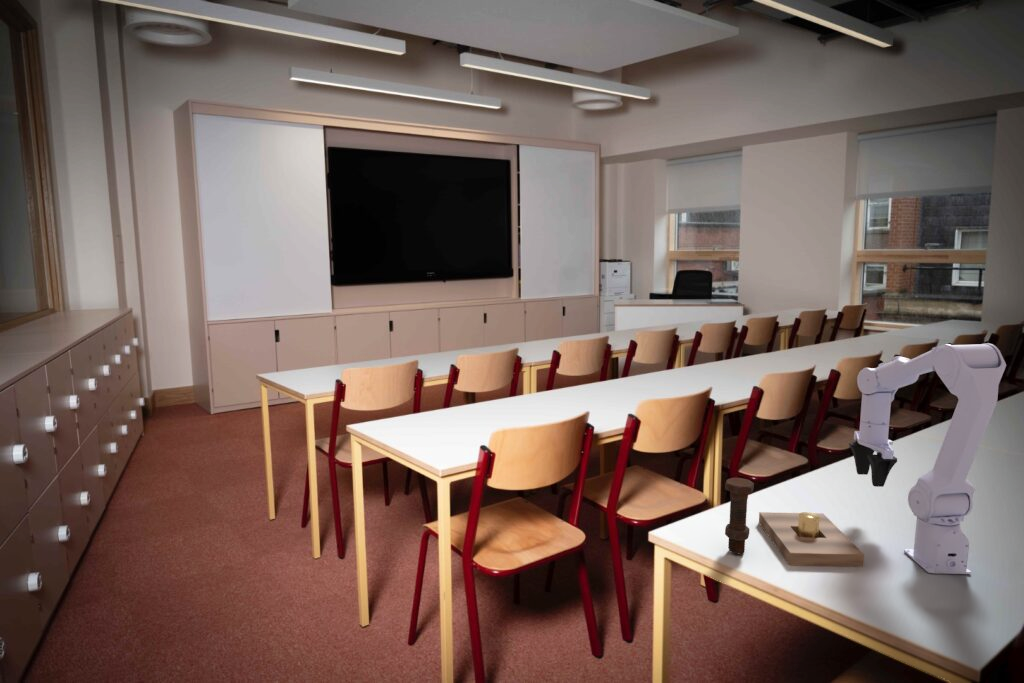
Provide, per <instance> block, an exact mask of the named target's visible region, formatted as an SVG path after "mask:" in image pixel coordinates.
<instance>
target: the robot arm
mask: <svg viewBox="0 0 1024 683" xmlns="http://www.w3.org/2000/svg"><path fill="white" fill-rule="evenodd" d="M1006 367H1007V364H1006V361H1005V359H1004V357H1003V355H1002V353H1001V350H1000V349H999V348H998V347H997V346H996V345H995V344H993V343H989V342H987V343H985V342H983V343H981V344H979V343H978V344H947V343H946V344H942V345H939V346H934V347H933V346H932V348H931V349H930V350H929V351H927V352H924V353H922V354H919V355H918V356H916V357H914V358H911V359H910V358H908V357H903V356H901V355H900V356H894V357H892V361H889V362H881V363H879V364H878V366H877V367H874V368H873V367H872V368H871V367H864V368H862V369H861V370H860V371H859V372H858V374H857V378H856V382H857V388H858V390H859V391H860V392H861V403H860V404H861V406H860V416H859V417H860V421H859V431H857V430H855V431H853V440H854V441H855V442H854V441H852V442H849V443H848V445H849V448H850V450H851V452H852V455H853V458H854V464H855V470H856V473H857V475H864V476H866V475H868V474H869V472H870V471H871V483H872V486H873V487H879V488H880V487H884V486H885V484H886V482H887V479H888V476H889V474H890V472H891V471H892V468H893V467H894V466H895V465H896V464H897V462H898V458H897V457H896V456H895V455H894V453H895V452H894V449H893V448H892V447H891V446H892V445H893V444H894V441H893V440H891V439H889V430H890V420H891V419H890V417H891V405H892V402H893V401H894V400H895V394H896V393H897V391H898V390H899V389H901V388H904V387H906V386H909V385H913V384H915V383H916V382H917V381H918V380H919V377H920V375H923V374H927V373H931V372H936V374H937V376H938V377H939V378H940V380H941V382H942V383H943V384H944V385H945V387H946V388H947V390H948V391H949V392H950V394H951V395H954V396H955V397H957V399H958V400H957V404H956V407H955V409H954V412H953V415H952V417H951V419H950V423H949V426H948V427H947V430H946V433H945V435H944V438H943V441H942V444H941V447H940V449H939V452H938V454H937V456H936V459H935V462H934V465H933V468H932V469H931V470H929V471H928V472H926V473H924V474H923V475H921V476H920V477H918V479H917V482H916V484H914V486H912V487H911V488H910V490H908V494H907V502H908V506H909V508H910V511H911V512H912V514H913V516H915V517H916V522H915V533H914V541H913V542H914V544H913V548H904V550H903V552H904V553H905V554H906V555H908V556H909V557H910V558H911V559H912V560H913V561H914V562H916V563H917V564H918V565H919V566H920V567H921V568H922V569H924V571H925V572H927V573H928V574H944V575H945V574H947V575H948V574H950V575H951V574H952V575H971V574H972V571H971V570H970V569H968V568H967V567H968V561H969V560H968V559H969V550H970V542H969V538H968V537H967V536H966V534H965V533H964V532H963V531H962V529H961V523H962V522H964V521H965V516H968V515H969V514H970V513H971V512H972V510H973V505H974V501H973V498H974V493H975V491H976V489H975V487H974V486H973V484H972V482H970V480H968V479H967V478H968V475H969V472H970V470H971V467H972V465H973V464H974V463H973V462H974V461H975V458H976V455H977V453H978V450H979V448H980V445H981V443H982V440H983V437H984V435H985V433H986V430H987V428H988V425H989V423H990V421H991V418H992V416H993V412H994V410H995V408H996V406H997V404H998V397H999V396H998V395H999V385H1000V382H1001V379H1002V377H1003V374H1004V372H1005V370H1006ZM874 453H876V454H874ZM870 469H871V470H870Z"/></svg>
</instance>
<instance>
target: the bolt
mask: <svg viewBox="0 0 1024 683" xmlns="http://www.w3.org/2000/svg"><path fill="white" fill-rule="evenodd" d="M754 487H755V483H754V482H753V481H751V480H750V479H746V478H742V477H731V478H728V479H726V481H725V485H724V489H725V490H726V491H727V492H729V494H730V495H729V497H730V503H729V504H730V506H729V522H728V523H727V524H726V526H725V531H724V535H725V536H726V537H727V538H728V545H727V546H728V550H729V552H730V551H731V552H730V553H731V554H732V555H734V556H738V555H739V556H741V554H742V555H744V554H745V548H746V547H745V546H746V540H748V539H749V537H750V527H748V526H747V512H748V509H747V508H748V499H749V494H750V495H751V494H753V491H754V490H755V488H754Z"/></svg>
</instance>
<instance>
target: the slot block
mask: <svg viewBox="0 0 1024 683" xmlns="http://www.w3.org/2000/svg"><path fill="white" fill-rule="evenodd" d="M758 513H759V514H758V524H759V523H760V524H761V525H760V524H759V525H760V527H761V528H762V527H763V528H764V529H763V528H762V529H763V531H764V530H765V531H766V532H765V531H764V532H765V533H766V534H768V535H769V536H768V535H767V536H768V537H769V539H770V538H771V539H770V540H771V542H772V543H773V542H774V543H773V544H774V545H776V546H775V547H776V548H777V549H779V550H778V551H779V552H780V554H781V555H782V557H783V558H784V559H785V561H786V562H787V564H788V565H789V566H812V567H813V566H815V567H816V566H817V567H820V566H821V567H858V568H859V567H864V561H865V553H864V552H862V551H861V550H860V549H859V548H858V547H857V546H856V545H855V544H854V543H853V542H852V541H851V540H850V539H849V538H848V537H847V536H846V535H845V534H844V532H842V531H841V529H839V528H838V526H837V525H835V524H834V523H833V522H832V521H831V520H830V518H828V516H826V515H825V513H822V512H821V513H818V512H817V513H816V512H815V513H814V512H812V513H813V514H816V515H818V516H819V517H820V523H819V537H818V538H807V537H799V536H798V522H799V514H800V513H801V512H767V511H766V512H765V511H763V512H762V511H760V512H758Z"/></svg>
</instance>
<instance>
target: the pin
mask: <svg viewBox="0 0 1024 683" xmlns="http://www.w3.org/2000/svg"><path fill="white" fill-rule="evenodd" d="M799 513H800V514H799V522H798V536H799V537H807V538H818V537H819V523H820V517H819V516H818V515H816V514H813V513H814V512H799Z"/></svg>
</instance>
